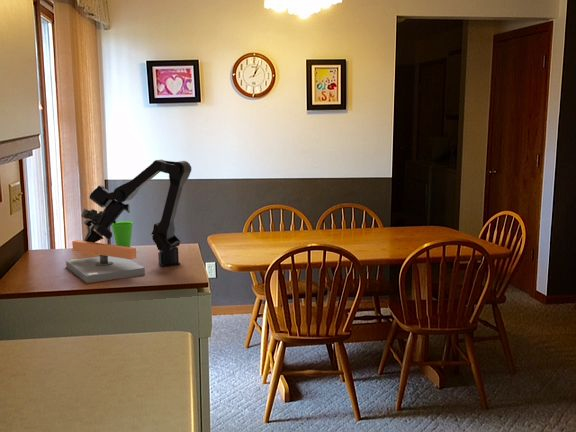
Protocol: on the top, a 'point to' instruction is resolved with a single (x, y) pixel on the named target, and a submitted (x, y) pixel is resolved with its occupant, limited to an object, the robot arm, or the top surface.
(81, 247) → the handle
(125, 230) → the cup
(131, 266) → the panel
